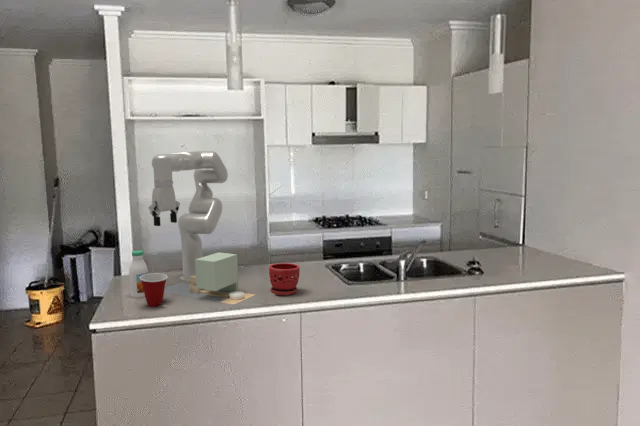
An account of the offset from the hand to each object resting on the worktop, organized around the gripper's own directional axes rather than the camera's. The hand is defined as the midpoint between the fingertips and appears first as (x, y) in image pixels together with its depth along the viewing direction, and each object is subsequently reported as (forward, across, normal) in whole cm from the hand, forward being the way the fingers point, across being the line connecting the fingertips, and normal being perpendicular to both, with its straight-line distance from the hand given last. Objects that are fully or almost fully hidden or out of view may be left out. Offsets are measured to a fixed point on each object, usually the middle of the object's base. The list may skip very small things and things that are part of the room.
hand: (165, 224), depth 232 cm
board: (+30, -4, +14) cm, 33 cm away
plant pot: (+31, -22, +46) cm, 59 cm away
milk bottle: (+31, +11, -6) cm, 33 cm away
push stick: (+29, -3, +21) cm, 36 cm away
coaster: (+29, -4, +34) cm, 45 cm away
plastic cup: (+31, +16, +8) cm, 35 cm away
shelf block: (+30, -4, +24) cm, 39 cm away
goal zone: (+30, -4, +35) cm, 46 cm away
